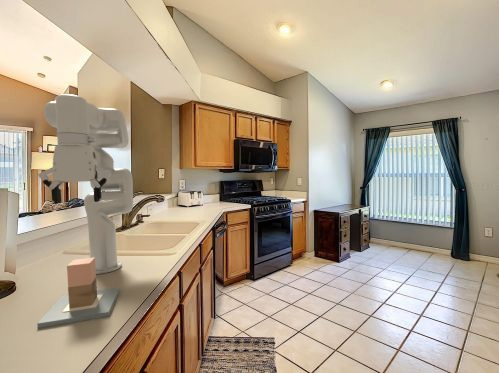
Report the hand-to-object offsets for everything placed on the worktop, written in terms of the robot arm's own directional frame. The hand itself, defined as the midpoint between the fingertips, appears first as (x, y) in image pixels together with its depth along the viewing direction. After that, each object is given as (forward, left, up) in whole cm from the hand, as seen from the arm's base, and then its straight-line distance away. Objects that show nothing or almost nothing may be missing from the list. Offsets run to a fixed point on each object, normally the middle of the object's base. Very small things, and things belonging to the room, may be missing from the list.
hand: (77, 202), depth 73 cm
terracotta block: (0, 0, -23) cm, 23 cm away
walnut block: (0, 0, -29) cm, 29 cm away
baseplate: (0, 0, -30) cm, 30 cm away
